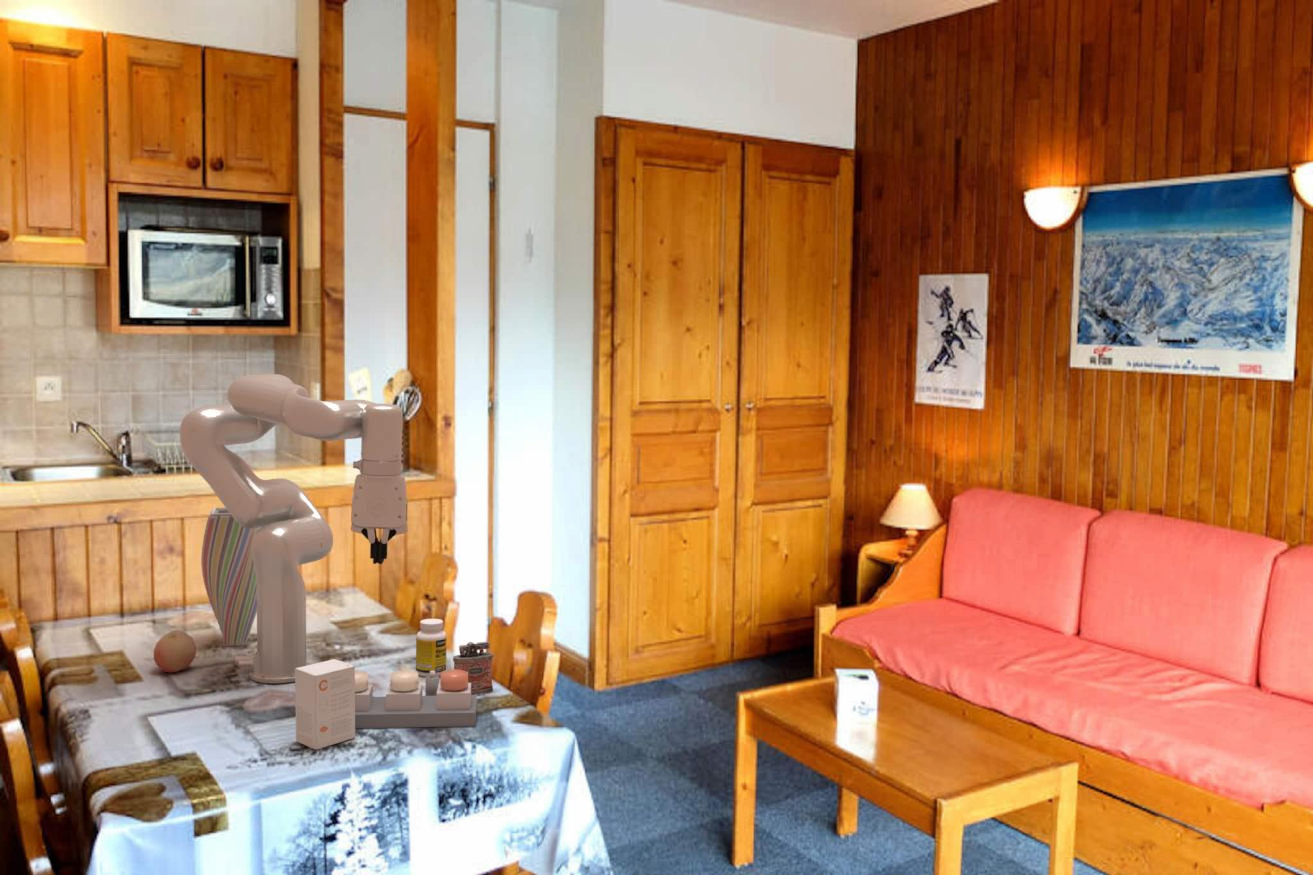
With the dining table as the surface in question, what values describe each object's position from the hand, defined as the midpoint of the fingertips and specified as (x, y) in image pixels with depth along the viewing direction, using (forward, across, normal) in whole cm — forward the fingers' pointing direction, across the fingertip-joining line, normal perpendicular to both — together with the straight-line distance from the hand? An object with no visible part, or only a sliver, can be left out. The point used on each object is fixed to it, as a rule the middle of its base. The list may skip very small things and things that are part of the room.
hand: (378, 562), depth 220 cm
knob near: (+23, -2, -15) cm, 27 cm away
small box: (+26, -4, -25) cm, 37 cm away
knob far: (+23, +16, -14) cm, 31 cm away
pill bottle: (+26, +9, +13) cm, 31 cm away
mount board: (+26, +8, -14) cm, 30 cm away
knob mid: (+23, +7, -14) cm, 28 cm away
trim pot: (+26, +12, -6) cm, 29 cm away
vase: (+28, -37, +36) cm, 59 cm away
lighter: (+26, +19, +1) cm, 32 cm away
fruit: (+28, -43, +15) cm, 53 cm away
